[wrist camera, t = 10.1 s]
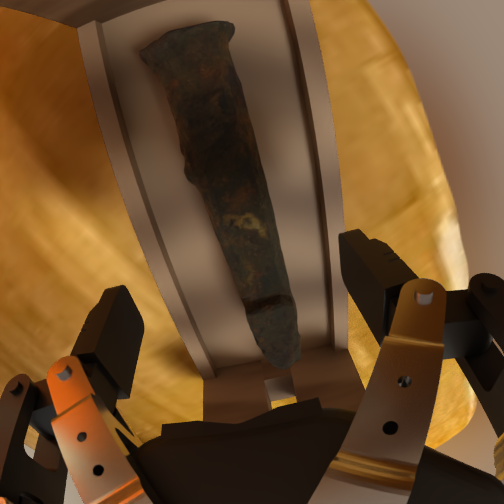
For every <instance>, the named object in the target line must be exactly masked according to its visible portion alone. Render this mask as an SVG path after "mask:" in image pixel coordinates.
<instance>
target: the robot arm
mask: <svg viewBox="0 0 504 504" xmlns="http://www.w3.org/2000/svg"><path fill="white" fill-rule="evenodd" d="M338 243H339V255H340V268H341V275H342V279H343V282H344V285H345V287H346V288H347V290H348V292H349V294H350V295H351V297H352V299H353V300H354V302H355V304H356V305H357V307H358V309H359V311H360V312H361V314H362V316H363V317H364V319H365V321H366V323H367V324H368V326H369V328H370V330H371V331H372V333H373V335H374V337H375V339H376V340H377V342H378V344H379V346H380V347H381V349H380V352H379V355H378V358H377V361H376V364H375V366H374V369H373V372H372V375H371V377H370V380H369V383H368V385H367V388H366V390H365V393H364V396H363V398H362V400H361V403H360V405H359V408H358V410H357V411H353V410H349V409H343V408H331V407H326V408H322V407H321V404H320V400H319V397H317V398H313V399H309V400H305V401H301V402H297V403H293V404H289V405H284V406H280V407H277V408H275V409H273V410H270V411H268V412H266V413H263V414H261V415H259V416H256V417H254V418H252V419H249V420H247V421H244V422H242V423H237V424H231V423H217V422H206V421H191V422H182V423H171V424H162V431H161V436H158V437H156V438H154V439H151V440H149V441H148V442H146V443H144V444H142V442H141V441H140V439H139V438H138V437H137V435H136V434H135V432H134V431H133V429H132V428H131V426H130V425H129V423H128V422H127V420H126V419H125V417H124V415H123V414H122V412H121V411H120V409H119V408H118V407H117V406H116V402H117V399H129V398H130V393H131V388H132V383H133V379H134V374H135V369H136V365H137V360H138V356H139V351H140V347H141V343H142V338H143V334H144V322H143V319H142V316H141V314H140V312H139V310H138V309H137V307H136V305H135V303H134V301H133V299H132V297H131V295H130V293H129V291H128V289H127V288H126V286H124V285H120V286H116V287H112V288H107V289H105V290H104V292H103V294H102V296H101V299H100V301H99V303H98V304H97V305H96V306H95V307H94V308H93V309H92V310H91V311H90V312H89V314H88V316H87V318H86V320H85V324H84V325H83V327H82V329H81V332H80V334H79V336H78V338H77V340H76V343H75V345H74V347H73V350H72V352H71V354H70V356H66V357H63V358H61V359H59V360H58V361H56V362H55V363H54V364H53V365H52V366H51V368H50V369H49V371H48V374H47V379H44V380H42V381H39V382H37V383H34V382H33V381H32V380H31V379H30V378H29V377H28V376H27V375H26V374H19V375H17V376H15V377H14V378H12V379H11V380H10V381H9V382H8V384H7V385H6V387H5V389H4V391H3V394H2V396H1V398H0V504H63V503H64V494H65V487H66V479H67V472H68V470H69V473H70V475H71V477H72V480H73V482H74V484H75V486H76V488H77V490H78V493H79V495H80V497H81V499H82V501H83V503H84V504H504V356H503V355H502V353H501V352H500V351H499V349H498V348H497V346H496V345H495V344H494V342H493V341H492V340H493V338H494V339H495V341H496V342H497V344H498V345H499V346H500V348H501V349H502V351H503V353H504V280H503V279H501V278H500V277H498V276H496V275H493V274H489V273H480V274H477V275H475V276H473V277H472V278H471V280H470V282H469V286H468V289H466V290H455V291H446V290H445V289H444V287H443V286H442V285H441V284H440V283H438V282H436V281H434V280H431V279H425V278H418V276H417V275H416V274H415V273H414V272H413V271H412V270H411V269H410V268H409V267H408V266H407V265H406V264H405V262H404V261H403V260H402V259H400V257H399V256H398V255H397V254H396V253H394V251H393V250H392V249H391V248H390V247H389V246H388V245H387V244H386V243H384V242H382V241H379V240H377V239H371V240H369V239H368V238H367V237H366V235H365V234H364V233H363V232H362V231H361V230H360V229H355V230H351V231H347V232H343V233H339V235H338ZM451 358H455V359H456V361H457V363H458V364H459V366H460V368H461V369H462V371H463V373H464V375H465V376H466V378H467V380H468V382H469V383H470V385H471V387H472V389H473V390H474V392H475V394H476V396H477V398H478V399H479V401H480V403H481V405H482V407H483V409H484V411H485V412H486V414H487V416H488V418H489V420H490V422H491V424H492V426H493V428H494V430H495V432H496V434H497V436H498V440H497V442H496V445H495V448H494V459H495V463H494V465H495V468H496V475H495V476H493V475H491V474H489V473H486V472H484V471H481V470H479V469H477V468H474V467H472V466H470V465H467V464H465V463H463V462H460V461H458V460H456V459H454V458H451V457H449V456H447V455H445V454H443V453H441V452H438V451H436V450H434V449H432V448H430V447H428V446H426V445H425V441H426V437H427V434H428V430H429V426H430V422H431V418H432V414H433V409H434V405H435V400H436V395H437V390H438V385H439V380H440V374H441V368H442V361H443V359H451ZM29 425H30V426H31V427H33V428H34V429H35V430H36V431H37V432H38V433H39V437H38V441H37V445H36V449H35V453H34V457H33V459H32V458H30V457H29V456H28V455H27V453H26V452H25V449H24V440H25V436H26V433H27V429H28V426H29Z"/></svg>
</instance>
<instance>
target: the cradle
mask: <svg viewBox="0 0 504 504" xmlns="http://www.w3.org/2000/svg"><path fill="white" fill-rule="evenodd" d="M0 6H1V7H6V8H10V9H14V10H18V11H22V12H26V13H29V14H33V15H37V16H40V17H43V18H47V19H50V20H53V21H56V22H59V23H62V24H65V25H68V26H71V27H74V28H77V32H78V37H79V42H80V47H81V52H82V57H83V62H84V66H85V71H86V75H87V79H88V84H89V88H90V92H91V96H92V100H93V104H94V107H95V111H96V115H97V118H98V122H99V126H100V129H101V133H102V136H103V139H104V143H105V146H106V149H107V152H108V156H109V159H110V162H111V165H112V168H113V171H114V174H115V177H116V180H117V183H118V186H119V189H120V192H121V195H122V197H123V200H124V203H125V206H126V209H127V211H128V214H129V217H130V219H131V222H132V225H133V227H134V230H135V233H136V235H137V238H138V240H139V243H140V245H141V248H142V250H143V253H144V255H145V258H146V260H147V262H148V265H149V267H150V270H151V272H152V274H153V277H154V279H155V281H156V283H157V286H158V288H159V290H160V293H161V295H162V297H163V299H164V301H165V304H166V306H167V308H168V310H169V312H170V314H171V317H172V319H173V321H174V323H175V325H176V327H177V329H178V331H179V333H180V335H181V337H182V339H183V342H184V344H185V346H186V348H187V350H188V352H189V353H190V355H191V357H192V359H193V361H194V363H195V365H196V367H197V369H198V371H199V373H200V375H201V377H202V378H203V380H204V384H203V421H206V422H217V423H231V424H237V423H242V422H244V421H247V420H249V419H252V418H254V417H256V416H259V415H261V414H263V413H266V412H268V411H270V410H272V407H271V401H276V400H280V399H285V398H290V397H294V396H296V399H297V402H301V401H305V400H309V399H313V398H317V397H319V400H320V404H321V407H322V408H326V407H331V408H343V409H349V410H353V411H357V410H358V408H359V405H360V403H361V400H362V398H363V396H364V393H365V388H364V386H363V384H362V381H361V379H360V376H359V374H358V372H357V369H356V367H355V365H354V362H353V360H352V358H351V355H350V353H349V351H348V290H347V288H346V287H345V285H344V282H343V279H342V275H341V268H340V255H339V243H338V235H339V233H343V232H345V224H344V211H343V199H342V189H341V179H340V169H339V161H338V152H337V145H336V137H335V130H334V123H333V116H332V110H331V104H330V98H329V92H328V86H327V80H326V75H325V70H324V65H323V60H322V55H321V50H320V45H319V41H318V36H317V32H316V27H315V23H314V19H313V15H312V11H311V7H310V3H309V0H0ZM211 21H228V22H230V23H233V24H234V26H235V33H234V35H233V37H232V39H231V40H230V42H229V51H230V54H231V57H232V60H233V63H234V66H235V70H236V73H237V75H238V77H239V79H240V81H241V84H242V88H243V93H244V97H245V100H246V104H247V108H248V113H249V117H250V120H251V123H252V126H253V129H254V134H255V138H256V142H257V147H258V151H259V155H260V159H261V164H262V167H263V170H264V173H265V177H266V181H267V185H268V191H269V195H270V198H271V202H272V206H273V210H274V214H275V220H276V226H277V230H278V234H279V238H280V245H281V250H282V253H283V256H284V261H285V266H286V270H287V274H288V278H289V283H290V289H291V292H292V295H293V298H294V300H295V303H296V308H297V324H298V332H299V334H300V335H301V360H298V361H296V362H294V363H293V364H292V366H291V367H290V368H287V369H279V368H276V367H274V366H272V364H271V363H270V362H269V361H268V360H267V359H266V358H265V357H264V355H263V353H262V351H261V349H260V348H259V346H258V345H257V344H256V341H255V339H254V336H253V333H252V331H251V330H250V327H249V324H248V322H247V318H246V314H245V307H244V305H243V302H242V300H241V298H240V296H239V294H238V291H237V288H236V285H235V282H234V279H233V277H232V274H231V271H230V268H229V266H228V263H227V261H226V259H225V256H224V254H223V251H222V249H221V246H220V243H219V241H218V239H217V237H216V235H215V232H214V229H213V226H212V223H211V220H210V217H209V214H208V212H207V209H206V207H205V204H204V201H203V198H202V196H201V194H200V192H199V191H198V189H197V188H196V186H195V185H193V184H191V183H190V182H189V181H188V180H187V178H186V176H185V174H184V165H185V161H184V156H183V155H182V153H181V151H180V145H179V144H180V142H179V136H178V133H177V129H176V124H175V120H174V117H173V115H172V113H171V109H170V106H169V103H168V101H167V96H166V92H165V89H164V87H163V85H162V84H161V83H160V82H159V80H158V78H157V76H156V75H155V74H154V73H153V72H152V70H151V68H150V67H149V66H148V65H146V64H145V63H144V62H143V61H142V60H141V58H140V57H139V51H140V50H142V49H144V48H145V47H147V46H148V45H149V44H150V43H152V42H153V41H155V40H158V39H159V38H160V37H161V36H162V35H164V34H165V33H166V32H168V31H170V30H175V29H180V28H184V27H188V26H193V25H197V24H202V23H206V22H211Z"/></svg>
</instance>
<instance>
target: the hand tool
mask: <svg viewBox="0 0 504 504" xmlns="http://www.w3.org/2000/svg"><path fill="white" fill-rule="evenodd" d="M234 33H235V26H234V24H233V23H230V22H228V21H211V22H206V23H202V24H197V25H193V26H188V27H184V28H180V29H175V30H170V31H168V32H166V33H165V34H164V35H162V36H161V37H160V38H159V39H158V40H155V41H153V42H152V43H150V44H149V45H148V46H147V47H145V48H144V49H142V50H140V51H139V57H140V58H141V60H142V61H143V62H144V63H145V64H146V65H148V66H149V67H150V68H151V70H152V72H153V73H154V74H155V75H156V76H157V78H158V80H159V82H160V83H161V84H162V85H163V87H164V89H165V92H166V96H167V101H168V103H169V106H170V109H171V113H172V115H173V117H174V120H175V124H176V129H177V133H178V136H179V142H180V144H179V145H180V151H181V153H182V155H183V156H184V161H185V165H184V174H185V176H186V178H187V180H188V181H189V182H190V183H191V184H193V185H195V186H196V188H197V189H198V191H199V192H200V194H201V196H202V198H203V201H204V204H205V207H206V209H207V212H208V214H209V217H210V220H211V223H212V226H213V229H214V232H215V235H216V237H217V239H218V241H219V243H220V246H221V249H222V251H223V254H224V256H225V259H226V261H227V263H228V266H229V268H230V271H231V274H232V277H233V279H234V282H235V285H236V288H237V291H238V294H239V296H240V298H241V300H242V302H243V305H244V307H245V314H246V318H247V322H248V324H249V327H250V330H251V331H252V333H253V336H254V339H255V341H256V344H257V345H258V346H259V348H260V349H261V351H262V353H263V355H264V357H265V358H266V359H267V360H268V361H269V362H270V363H271V364H272V366H274V367H276V368H279V369H287V368H290V367H291V366H292V364H293V363H294V362H296V361H298V360H301V335H300V334H299V332H298V324H297V308H296V303H295V300H294V298H293V295H292V292H291V289H290V283H289V278H288V274H287V270H286V266H285V261H284V256H283V253H282V250H281V245H280V238H279V234H278V230H277V226H276V220H275V214H274V210H273V206H272V202H271V198H270V195H269V191H268V185H267V181H266V177H265V173H264V170H263V167H262V164H261V159H260V155H259V151H258V147H257V142H256V138H255V134H254V129H253V126H252V123H251V120H250V117H249V113H248V108H247V104H246V100H245V97H244V93H243V88H242V84H241V81H240V79H239V77H238V75H237V73H236V70H235V66H234V63H233V60H232V57H231V54H230V51H229V42H230V40H231V39H232V37H233V35H234Z"/></svg>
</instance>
